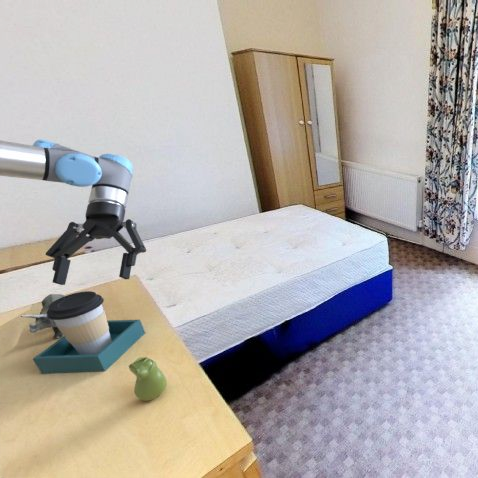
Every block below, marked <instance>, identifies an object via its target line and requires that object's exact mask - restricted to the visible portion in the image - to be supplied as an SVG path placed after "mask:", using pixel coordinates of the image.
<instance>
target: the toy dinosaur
mask: <svg viewBox="0 0 478 478" xmlns="http://www.w3.org/2000/svg"><path fill="white" fill-rule="evenodd" d="M64 296H65V295H64V294H60V293H49V294H48V295H46V296H45V297H44V298H43V299H42V300H41V306H42V308H41V309H40V312H39V314H25V315H20V317H21V318H30V319H35V322H32V323H31V322H30V323H28V326H29V332H30V333H31V334H36V333H39V332H40V331H42V330H44V329H51V328H52V331H53V333H54V335H53V336H52V338H51V339H52V340H54V339H59V338H60V337H61V338H62V337H64V335H63V334H62V332H61V331H60V330H59V328H58V327H57V326H56V323H55V321H54V320H52V319H49V318H48V317H47V311H48V309H49V305H50V304H51V303H52V302H54V301H56V300H57V299H59V298H62V297H64Z"/></svg>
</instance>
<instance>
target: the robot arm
mask: <svg viewBox="0 0 478 478" xmlns="http://www.w3.org/2000/svg"><path fill="white" fill-rule="evenodd" d="M133 167H134V165H133V163H132V162H131V160H129V159H128V158H126V157H124V156H123V155H119V154H113V153H103V154H101V155H99V156H93V155H91V154H87V153H85V152H81V151H79V150H76V149H73V148H70V147H68V146H64V145H61V144H59V143H56V142H52V141H48V140H45V139H37V140H35V141H34V142H33V144H32V145H30V144H24V143H18V142H11V141H8V140H7V141H6V140H0V177H7V178H19V179H28V180H36V181H45V182H52V183H60V184H61V183H63V184H66V185H69V186H72V187H79V188H84V187H85V188H86V187H90V186H91V189H90V193H89V196H88V201H87V202H88V204H87V207H86V211H85V221H84V222H83V223H76V222H75V221H70V222H69V223H68V225H67V228H66V230H65V231H64V232H63V233H62V234H61V235H60V236H59V238H58V239H56V241H55V242H54V243H53V244H52V245H51V246H50V248H49V249H48V250H47V251H46V252H45V256H47V257H50V258H53V259H54V261H53V265H52V267H51V268H52V271H54V273H53V278H52V284H57V285H60V286H66V282H67V278H68V273H69V270H70V265H71V259H69V258H70V257H72V256H73V255H74V254H75V253H76V252H77V253H78V251H79V250H81V249H82V248H83V247H84V246H85V245H87V244H89V242H93V241H94V240H102V239H106V240H107V239H108V240H110V239H112V238H113V239H114V240H116V242H117V243H118V244H119V245H120V246H121V247H122V248H123V249H124V250H125V251H126V252H123V253H122V257H121V265H120V270H119V275H118V277H119V278H121V279H124V280H130V277H131V272H132V267H135V266H136V262H137V257H138V254H142V253H147V248H146V246H145V245H144V242H143V240H142V238H141V236H140V234H139V232H138V229H137V223H136V222H134V221H133V220H131V219H129V218H128V219H126V220H125V217H126V216H125V215H126V208H127V205H128V198H129V193H130V189H131V187H130V186H131V183H132V179H133V171H134V168H133ZM124 220H125V221H124ZM123 229H125V231H127V234H128V236H129V237H130V240H131V242H132V244H133V245H132V244H131V243H129V241H128V240H127V239H126V238H125V236H123V235H122V233H120V231H121V230H123Z"/></svg>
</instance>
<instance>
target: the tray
mask: <svg viewBox="0 0 478 478" xmlns="http://www.w3.org/2000/svg"><path fill="white" fill-rule="evenodd" d="M107 322H108V326H109V333H110V337H111V341H112V342H111V343H109V344H108V345H107V346H106V347H105V348H104V349H102V350H101V351H100V352H99V353H98V354H90V355H79V353H78V352H77V351H76V349H75V348H74V347H73V345H72V344H71V343H69V342H68V340H67V339H66V338H65V336H61V338H60V339H59V338H58V340H57V341H55V342H54V343H52V344H51V345H50V346H48V347H47V348H45V349H44V350H43V351H42V352H40V353H39V354H37V355H36V356H34V357H33V358H32V360H33V362H34V364H35V366H36V367H37V369H38V371H39V372H40V374H41V375H45V374H46V375H47V374H69V373H70V374H71V373H72V374H73V373H94V372H106V371H107V370H108V369H109V368H110V367H111V366H112V365H114V363H115V362H117V360H119V359H120V358H121V357H122V356H123V355H124V354H125V353H126V352H127V351H128V350H129V349H130V348H131V347H133V346H134V344H136V342H137V341H139V340H140V339H141V338H142V337H143V336H144V335H146V331H145V329H144V326H143V323H142V321H141V319H116V320H115V319H114V320H113V319H112V320H108V319H107Z"/></svg>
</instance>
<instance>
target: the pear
mask: <svg viewBox="0 0 478 478" xmlns="http://www.w3.org/2000/svg"><path fill="white" fill-rule="evenodd" d="M128 369H129V371H130V372H131V373H132V374H133V375H135V377H136V379H135V383H134V387H133V388H134V389H133V393H134V395H135V397H136V398H137V399H139V400H140V401H144V402H145V401H152V400H155V399H156V398H159V397H160V396H161V395H162V394H163V393H164V392H165V391H166V388H167V385H168V383H167V378H166V376H165V374H164V373H163V371H162V370H161V369H160V368H159V367H158V365H157V362H156V361H154V360H153V359H151V358H149V357H148V356H143V357H139V358H137V359H135V361H133V362H132V363H130V364H129V365H128Z"/></svg>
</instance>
